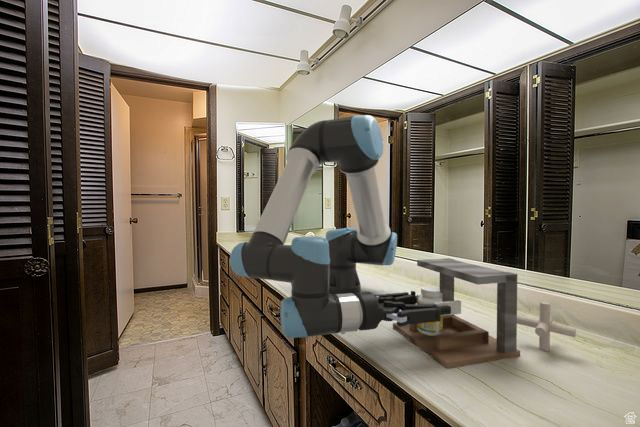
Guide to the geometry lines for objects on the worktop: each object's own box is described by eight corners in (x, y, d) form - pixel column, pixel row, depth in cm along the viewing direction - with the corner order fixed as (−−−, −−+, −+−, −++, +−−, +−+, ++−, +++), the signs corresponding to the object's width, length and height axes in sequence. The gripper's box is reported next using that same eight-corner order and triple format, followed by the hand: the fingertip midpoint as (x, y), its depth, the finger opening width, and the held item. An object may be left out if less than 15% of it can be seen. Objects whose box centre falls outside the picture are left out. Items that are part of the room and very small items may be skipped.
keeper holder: (392, 327, 74) (393, 261, 74) (451, 320, 79) (452, 258, 79) (446, 368, 55) (447, 279, 55) (520, 355, 60) (521, 273, 60)
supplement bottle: (426, 337, 62) (426, 292, 61) (412, 327, 67) (412, 286, 67) (448, 335, 63) (448, 291, 63) (432, 325, 68) (433, 284, 68)
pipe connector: (511, 348, 63) (512, 302, 63) (521, 334, 70) (522, 293, 70) (572, 366, 56) (573, 314, 56) (577, 349, 63) (577, 303, 63)
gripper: (341, 314, 69) (425, 306, 75) (375, 350, 51) (482, 335, 57) (341, 282, 69) (425, 277, 75) (375, 308, 51) (482, 298, 57)
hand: (450, 302), depth 66 cm, fingers closed on supplement bottle, 5 cm apart
